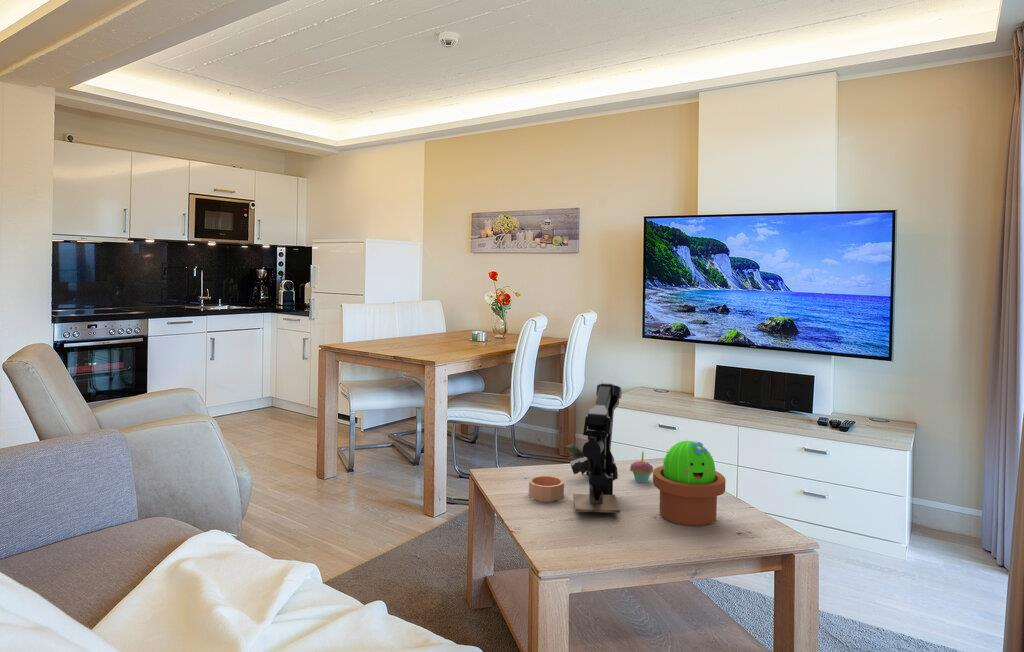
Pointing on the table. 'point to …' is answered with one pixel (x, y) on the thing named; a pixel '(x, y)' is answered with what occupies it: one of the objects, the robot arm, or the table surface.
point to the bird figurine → (575, 453)
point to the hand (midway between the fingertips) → (595, 497)
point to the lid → (595, 502)
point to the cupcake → (641, 470)
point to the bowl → (546, 488)
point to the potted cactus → (688, 485)
